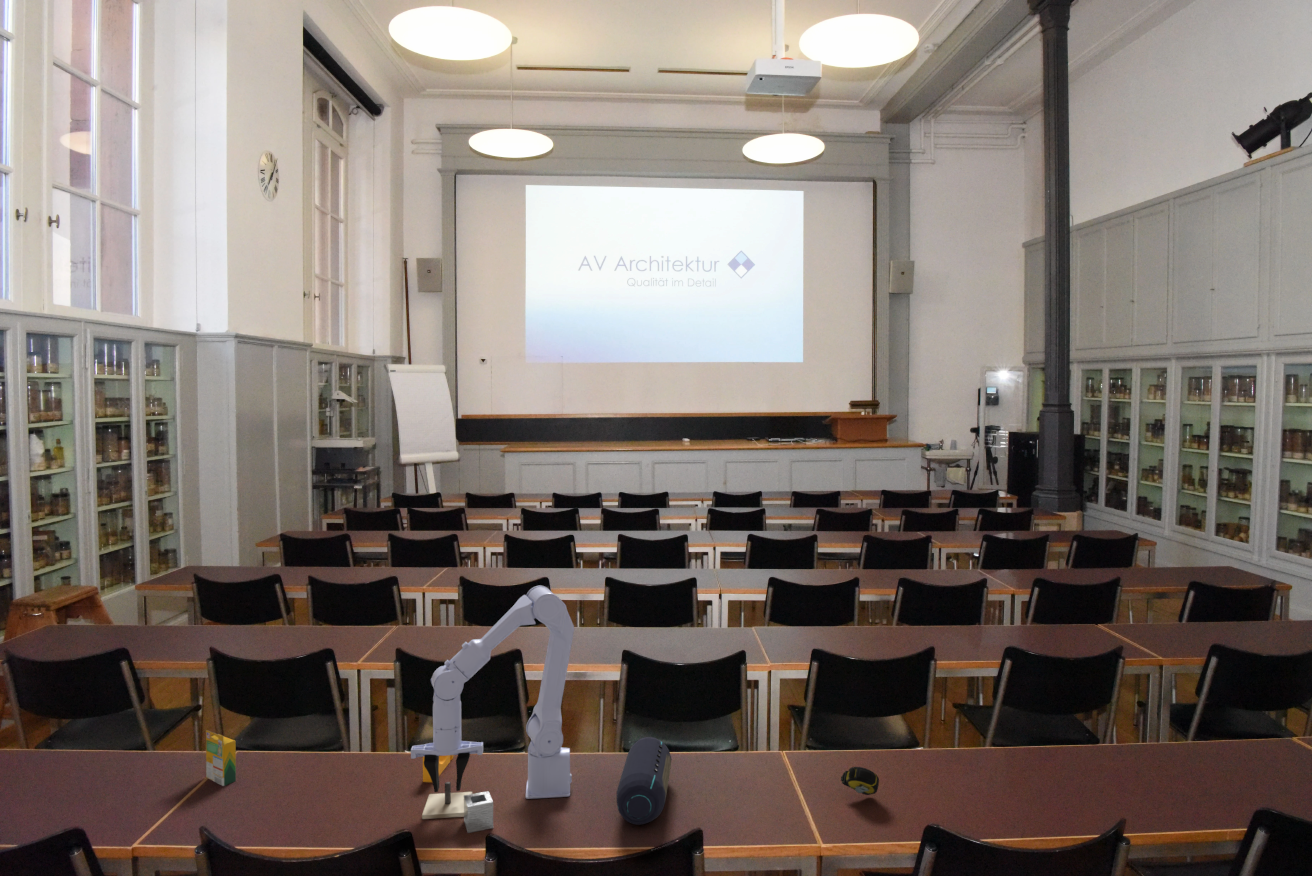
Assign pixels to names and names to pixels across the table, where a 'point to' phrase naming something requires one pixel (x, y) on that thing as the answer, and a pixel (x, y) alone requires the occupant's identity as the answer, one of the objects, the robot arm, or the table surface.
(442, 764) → the pipe clamp
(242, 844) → the table surface
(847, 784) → the tape measure
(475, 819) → the grey hollow cube
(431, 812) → the cream tile with peg
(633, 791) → the portable speaker
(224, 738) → the crayon box
